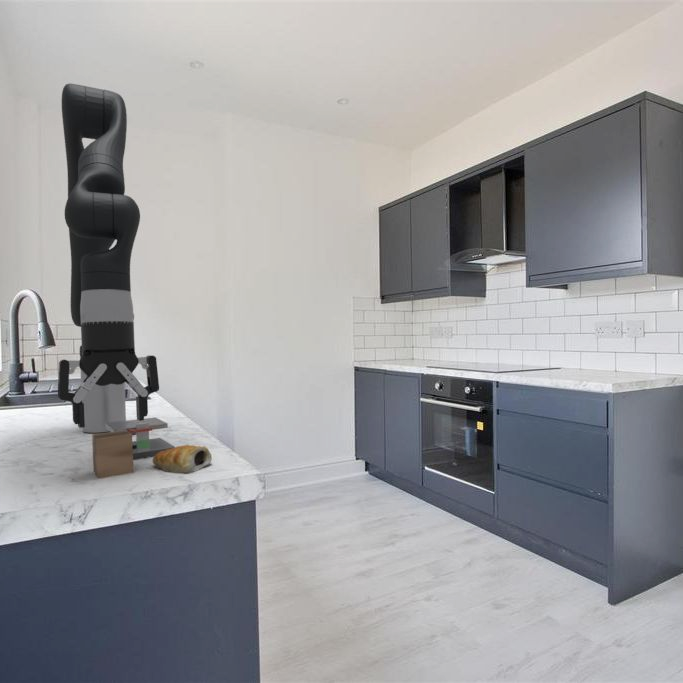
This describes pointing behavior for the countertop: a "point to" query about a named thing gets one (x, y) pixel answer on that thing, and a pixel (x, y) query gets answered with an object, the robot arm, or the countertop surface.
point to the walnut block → (112, 454)
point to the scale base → (147, 443)
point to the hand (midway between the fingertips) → (111, 423)
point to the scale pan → (131, 425)
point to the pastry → (183, 459)
